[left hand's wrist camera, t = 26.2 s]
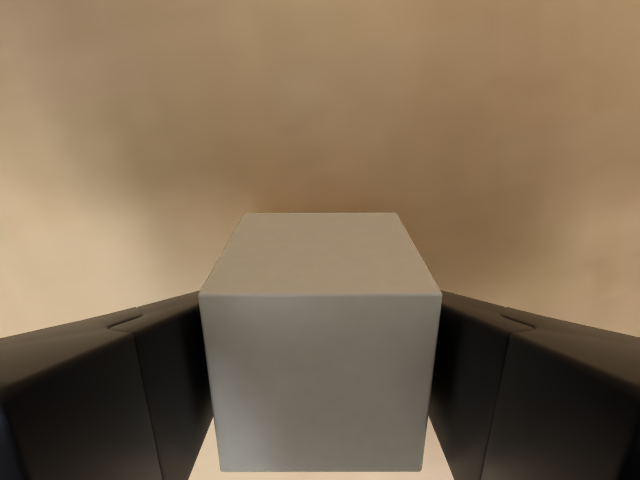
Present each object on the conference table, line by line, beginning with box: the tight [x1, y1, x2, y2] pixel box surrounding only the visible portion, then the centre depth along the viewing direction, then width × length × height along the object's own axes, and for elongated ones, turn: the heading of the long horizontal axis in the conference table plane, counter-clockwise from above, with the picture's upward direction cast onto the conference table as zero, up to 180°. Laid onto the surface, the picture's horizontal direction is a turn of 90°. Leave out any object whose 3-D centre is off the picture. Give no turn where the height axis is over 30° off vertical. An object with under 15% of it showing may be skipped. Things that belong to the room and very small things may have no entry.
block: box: [198, 212, 442, 472], centre depth 10 cm, size 4×4×5 cm
